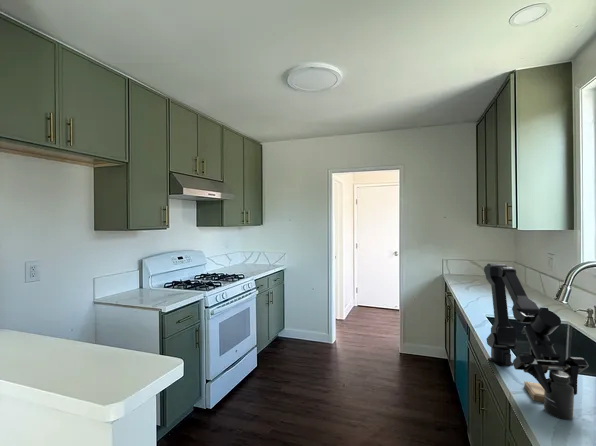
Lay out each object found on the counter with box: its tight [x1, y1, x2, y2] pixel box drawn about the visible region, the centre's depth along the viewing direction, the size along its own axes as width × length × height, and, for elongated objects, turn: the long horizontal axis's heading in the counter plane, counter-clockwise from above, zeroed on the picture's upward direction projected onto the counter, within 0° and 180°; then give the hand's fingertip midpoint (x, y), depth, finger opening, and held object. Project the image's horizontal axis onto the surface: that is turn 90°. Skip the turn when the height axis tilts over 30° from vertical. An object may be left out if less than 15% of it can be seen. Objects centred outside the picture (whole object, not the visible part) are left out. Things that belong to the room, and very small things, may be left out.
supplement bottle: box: [543, 369, 575, 420], centre depth 95 cm, size 7×7×12 cm
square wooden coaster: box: [523, 381, 544, 403], centre depth 105 cm, size 9×9×2 cm
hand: (562, 393), depth 94 cm, fingers closed on supplement bottle, 7 cm apart
